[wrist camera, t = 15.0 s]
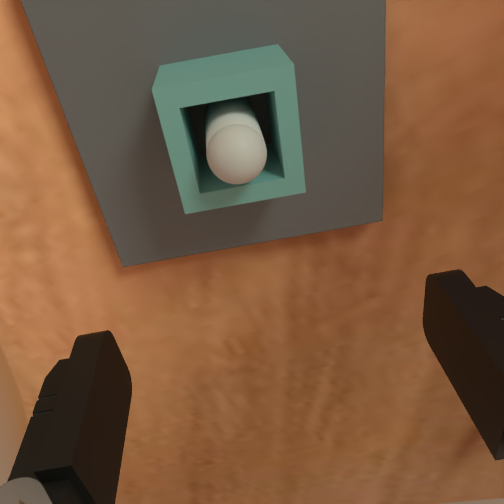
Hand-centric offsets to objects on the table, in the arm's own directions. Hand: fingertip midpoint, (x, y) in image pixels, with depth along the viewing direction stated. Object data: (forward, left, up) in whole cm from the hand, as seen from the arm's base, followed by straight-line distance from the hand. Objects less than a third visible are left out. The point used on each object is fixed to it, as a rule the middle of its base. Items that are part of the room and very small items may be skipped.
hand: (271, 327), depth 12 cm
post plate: (0, 0, -19) cm, 19 cm away
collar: (0, 0, -18) cm, 18 cm away
